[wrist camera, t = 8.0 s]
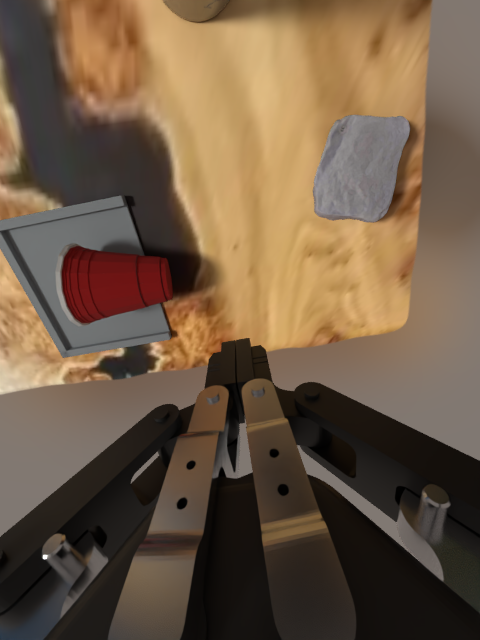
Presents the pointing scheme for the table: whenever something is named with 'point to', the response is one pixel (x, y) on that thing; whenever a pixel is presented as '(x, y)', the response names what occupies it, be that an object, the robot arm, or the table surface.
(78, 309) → the plastic cup
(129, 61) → the table surface
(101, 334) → the grey tray
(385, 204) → the stone block
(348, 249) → the table surface
